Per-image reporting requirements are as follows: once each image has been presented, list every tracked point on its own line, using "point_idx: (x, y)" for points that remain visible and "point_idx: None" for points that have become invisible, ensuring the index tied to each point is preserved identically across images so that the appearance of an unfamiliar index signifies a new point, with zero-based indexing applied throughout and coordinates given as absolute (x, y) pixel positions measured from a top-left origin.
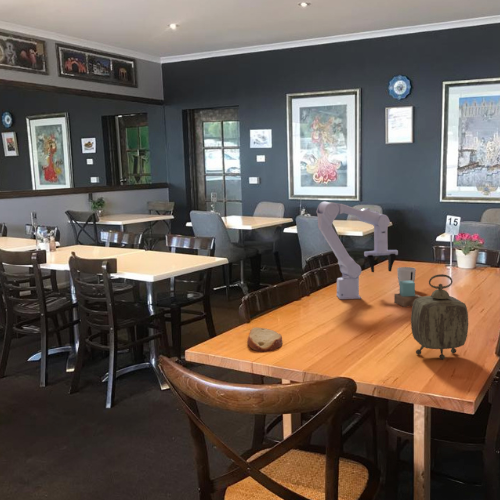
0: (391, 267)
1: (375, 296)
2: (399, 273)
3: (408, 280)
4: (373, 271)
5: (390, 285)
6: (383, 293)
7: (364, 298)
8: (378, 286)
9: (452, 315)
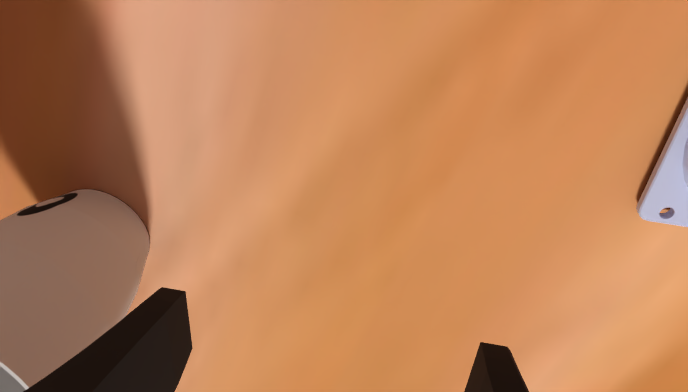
0: (114, 330)
1: (477, 87)
2: (62, 346)
3: (16, 233)
4: (494, 355)
5: (196, 381)
6: (337, 183)
7: (667, 26)
8: (291, 388)
9: None
